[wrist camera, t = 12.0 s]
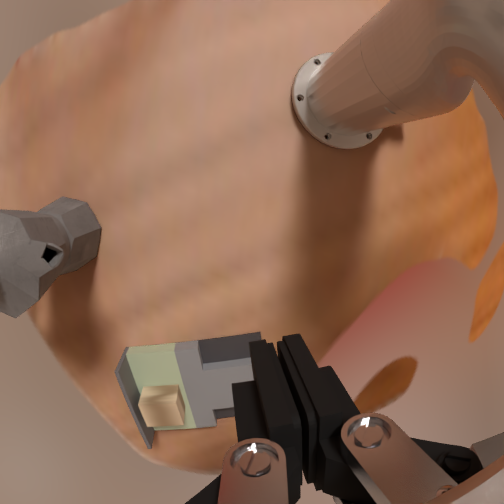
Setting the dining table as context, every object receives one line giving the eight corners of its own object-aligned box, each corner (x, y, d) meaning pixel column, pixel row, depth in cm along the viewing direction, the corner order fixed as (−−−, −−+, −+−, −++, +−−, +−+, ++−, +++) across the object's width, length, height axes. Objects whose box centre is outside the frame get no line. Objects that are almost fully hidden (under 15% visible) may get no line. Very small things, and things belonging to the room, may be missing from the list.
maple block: (178, 384, 38) (176, 403, 34) (185, 405, 39) (183, 425, 35) (143, 386, 37) (137, 405, 33) (151, 408, 38) (147, 426, 34)
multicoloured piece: (260, 331, 39) (267, 356, 34) (269, 409, 43) (276, 436, 37) (125, 347, 38) (114, 371, 32) (153, 421, 41) (148, 448, 35)
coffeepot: (110, 185, 33) (27, 193, 16) (124, 263, 35) (59, 330, 18) (13, 209, 32) (-82, 234, 14) (27, 277, 34) (-56, 333, 16)
